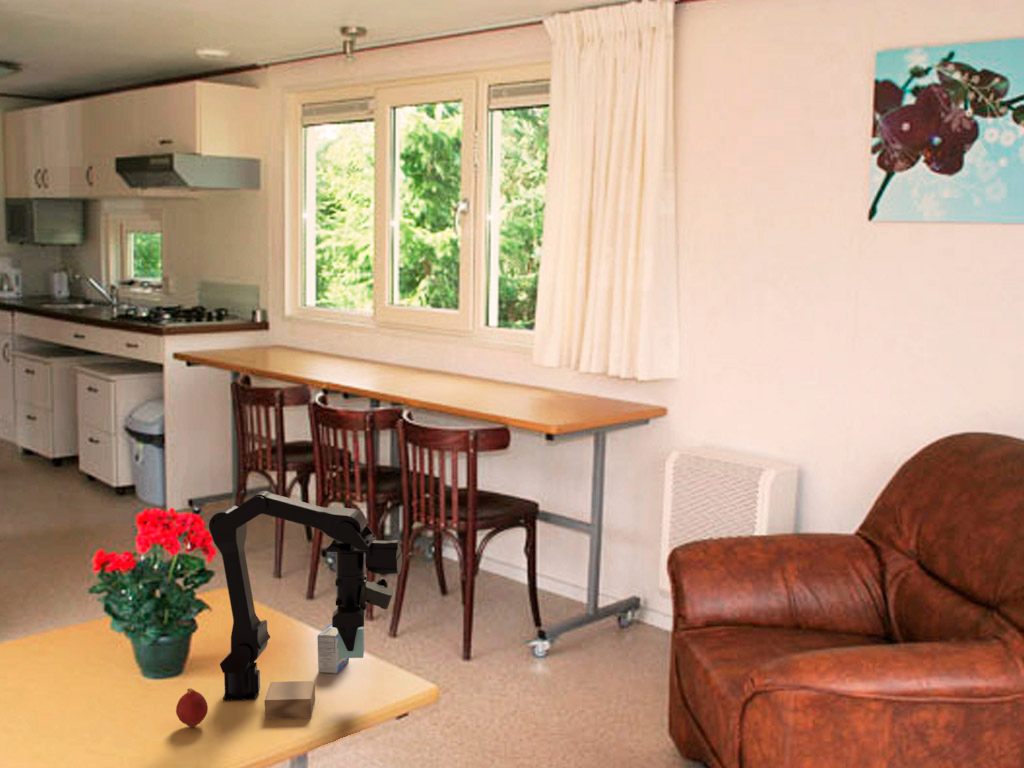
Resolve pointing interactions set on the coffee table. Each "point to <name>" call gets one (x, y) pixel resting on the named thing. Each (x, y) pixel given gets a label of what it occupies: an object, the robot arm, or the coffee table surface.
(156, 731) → the coffee table surface
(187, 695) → the onion
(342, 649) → the teal block
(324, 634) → the medicine box
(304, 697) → the walnut stand
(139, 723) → the coffee table surface
